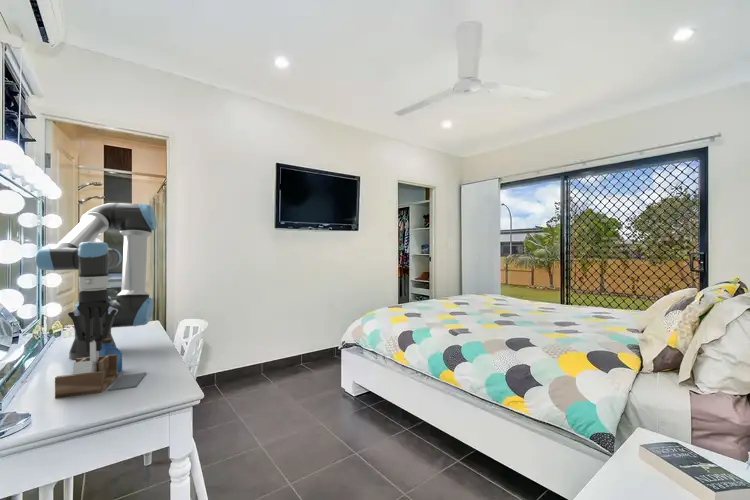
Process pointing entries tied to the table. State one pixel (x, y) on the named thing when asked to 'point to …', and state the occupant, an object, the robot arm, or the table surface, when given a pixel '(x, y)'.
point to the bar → (85, 367)
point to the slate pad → (127, 381)
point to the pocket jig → (88, 378)
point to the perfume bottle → (111, 351)
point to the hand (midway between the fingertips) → (94, 360)
